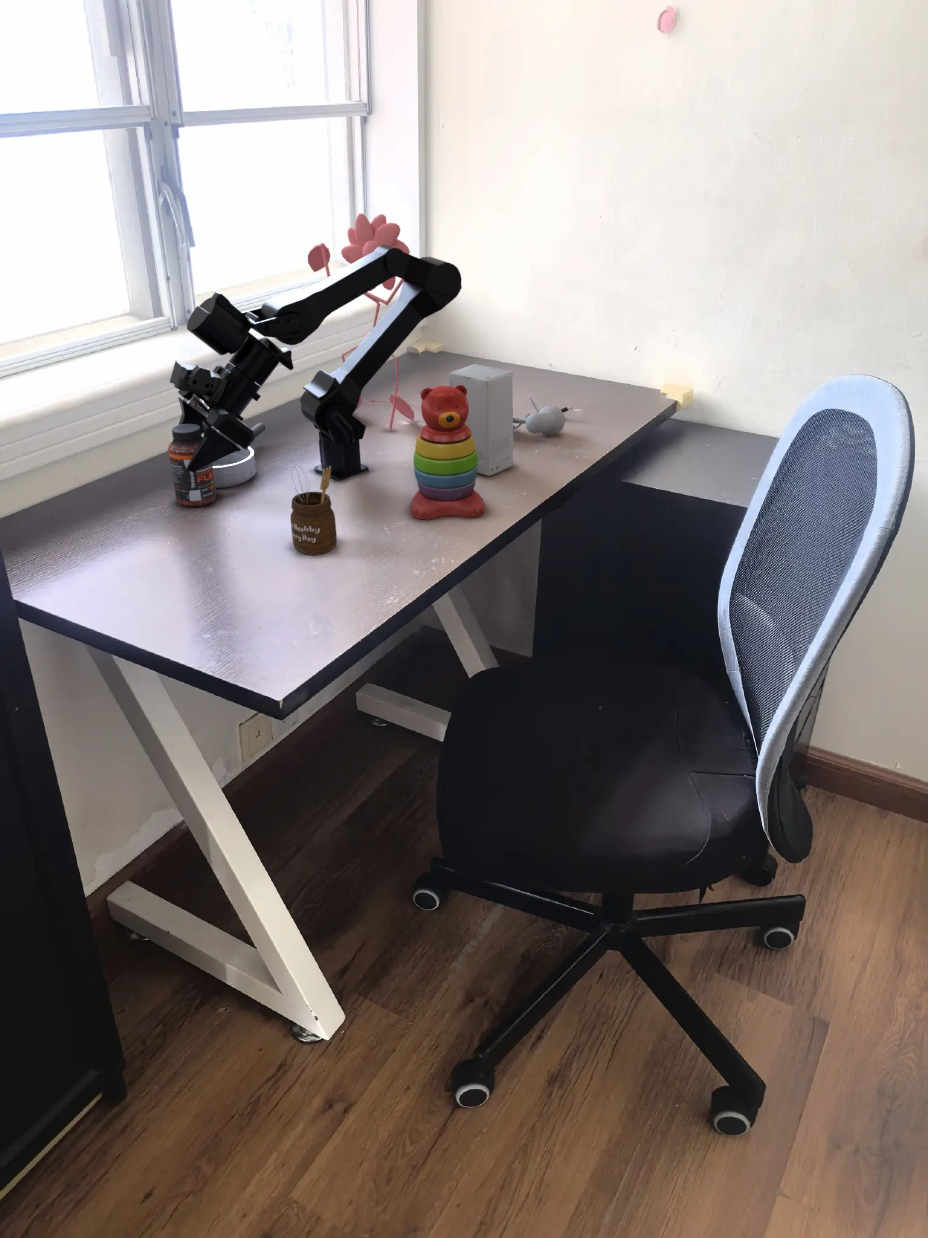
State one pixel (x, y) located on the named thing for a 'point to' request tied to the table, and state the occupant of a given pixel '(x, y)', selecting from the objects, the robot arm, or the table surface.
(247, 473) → the pan
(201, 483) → the supplement bottle
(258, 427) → the pan handle
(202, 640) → the table surface
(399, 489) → the table surface
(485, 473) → the cosmetic box
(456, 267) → the robot arm
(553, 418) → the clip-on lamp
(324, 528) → the utensil holder
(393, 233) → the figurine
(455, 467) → the stacking bear
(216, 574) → the table surface
